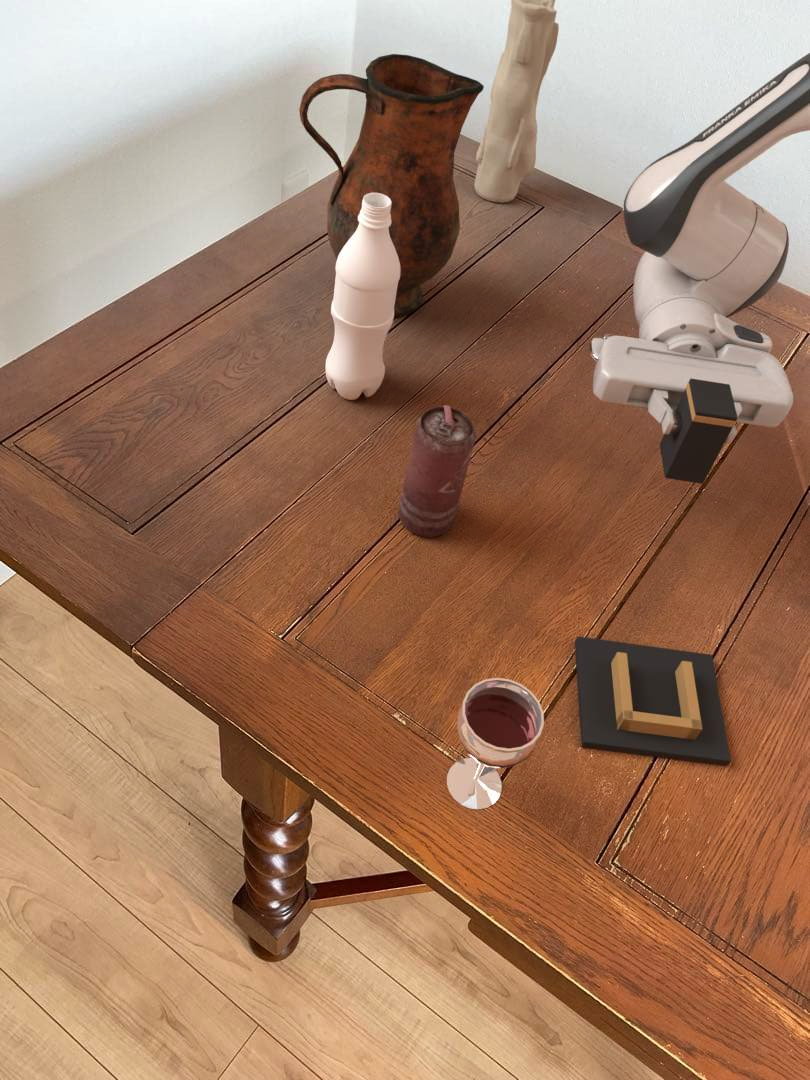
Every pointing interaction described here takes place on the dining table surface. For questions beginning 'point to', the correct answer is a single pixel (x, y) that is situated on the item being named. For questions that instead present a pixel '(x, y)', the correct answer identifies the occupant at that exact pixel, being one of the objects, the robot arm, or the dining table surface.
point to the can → (436, 470)
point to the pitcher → (402, 162)
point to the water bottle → (363, 302)
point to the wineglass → (493, 738)
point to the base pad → (649, 701)
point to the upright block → (699, 431)
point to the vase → (516, 101)
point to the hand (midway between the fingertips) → (700, 434)
